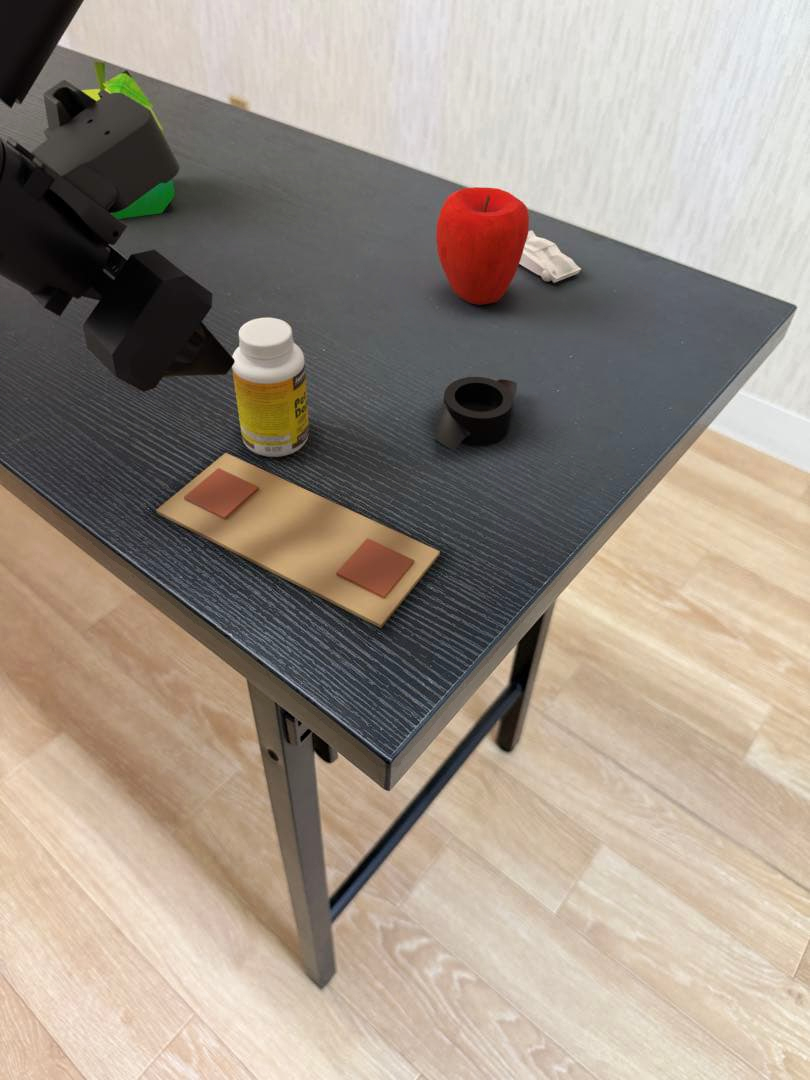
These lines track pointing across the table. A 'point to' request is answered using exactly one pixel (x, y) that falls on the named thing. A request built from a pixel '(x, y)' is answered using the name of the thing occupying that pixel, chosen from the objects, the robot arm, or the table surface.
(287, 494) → the wood board
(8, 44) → the robot arm
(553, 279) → the toy car
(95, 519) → the table surface
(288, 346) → the supplement bottle
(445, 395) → the black hollow round piece
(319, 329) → the table surface
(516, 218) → the apple
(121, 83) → the yellow-green faceted fruit
